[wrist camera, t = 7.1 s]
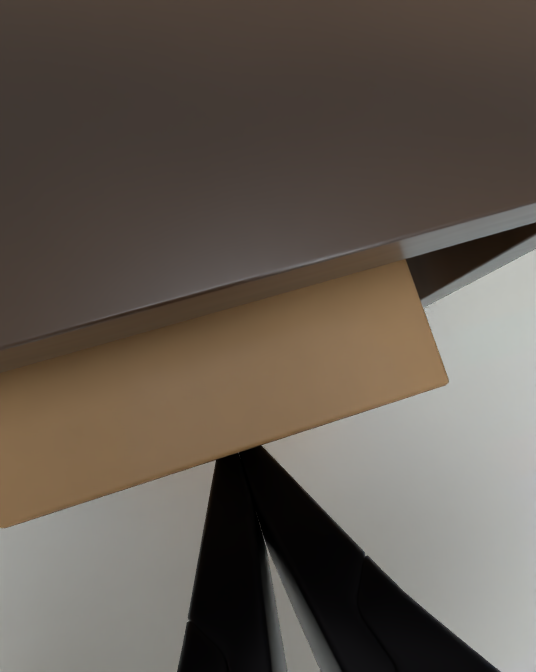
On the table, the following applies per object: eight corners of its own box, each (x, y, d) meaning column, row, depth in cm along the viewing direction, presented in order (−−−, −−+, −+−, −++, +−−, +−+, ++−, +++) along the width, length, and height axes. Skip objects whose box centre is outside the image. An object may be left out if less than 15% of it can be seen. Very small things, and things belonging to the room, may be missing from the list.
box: (335, 398, 17) (452, 383, 9) (117, 468, 16) (-11, 533, 7) (256, 155, 19) (285, -79, 10) (48, 204, 18) (-130, -8, 9)
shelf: (397, 322, 18) (723, 151, 6) (11, 437, 16) (-567, 505, 4) (287, 8, 20) (379, -586, 8) (-72, 78, 18) (-643, -568, 6)
